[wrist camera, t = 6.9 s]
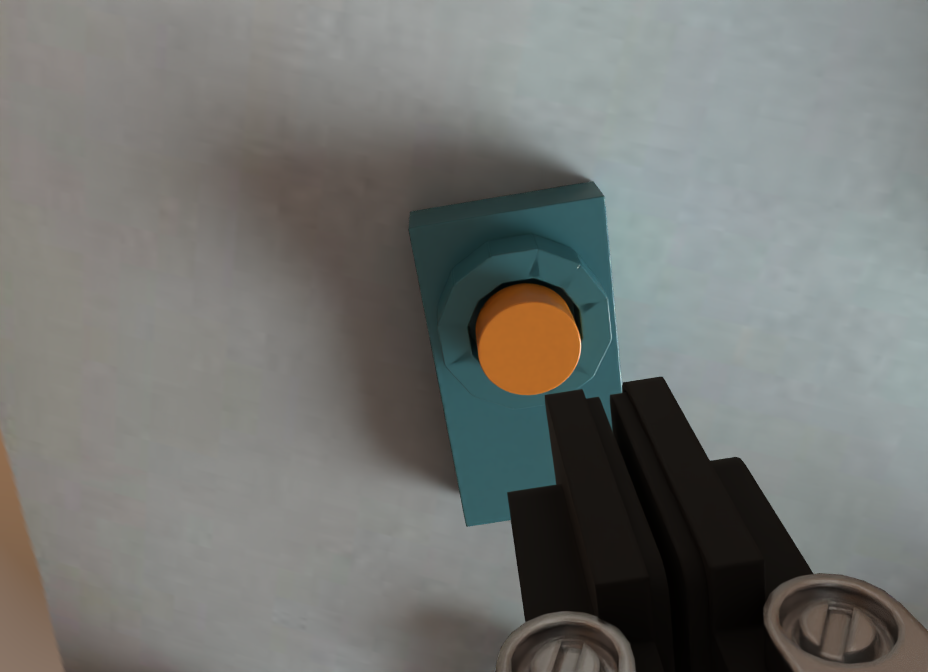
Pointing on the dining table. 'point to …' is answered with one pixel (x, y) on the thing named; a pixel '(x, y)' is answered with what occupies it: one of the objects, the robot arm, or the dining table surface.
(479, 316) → the orange push button
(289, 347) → the dining table surface
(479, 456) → the push button base
